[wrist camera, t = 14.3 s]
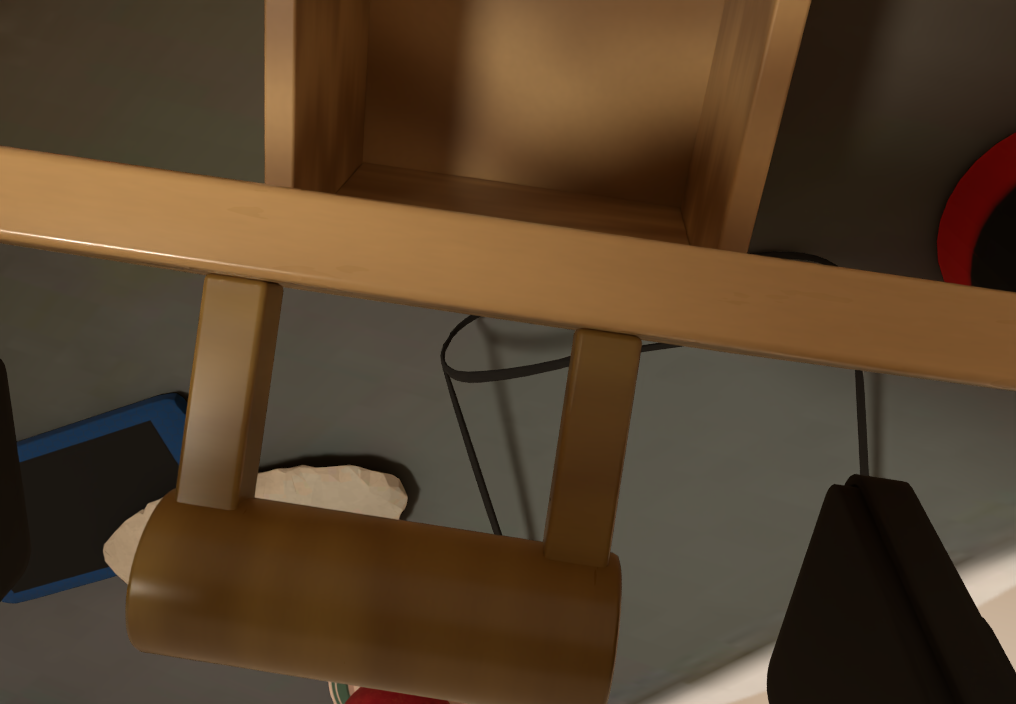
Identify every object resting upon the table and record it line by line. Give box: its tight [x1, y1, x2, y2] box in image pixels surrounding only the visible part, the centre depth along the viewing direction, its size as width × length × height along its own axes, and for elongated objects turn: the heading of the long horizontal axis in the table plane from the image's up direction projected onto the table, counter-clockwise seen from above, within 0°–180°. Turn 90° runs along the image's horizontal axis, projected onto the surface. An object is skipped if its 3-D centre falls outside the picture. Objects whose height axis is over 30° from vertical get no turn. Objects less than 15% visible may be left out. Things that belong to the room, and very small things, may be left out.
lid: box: [0, 146, 1016, 704], centre depth 16 cm, size 16×13×5 cm
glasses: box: [440, 252, 869, 535], centre depth 35 cm, size 14×15×5 cm
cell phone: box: [2, 393, 188, 603], centre depth 40 cm, size 7×14×1 cm, turn 111°
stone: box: [103, 465, 408, 584], centre depth 39 cm, size 8×14×2 cm, turn 119°
